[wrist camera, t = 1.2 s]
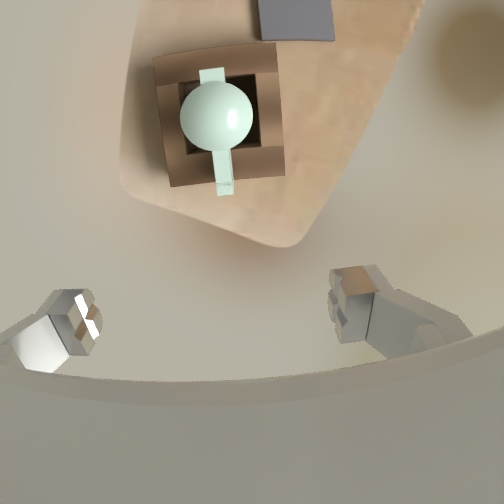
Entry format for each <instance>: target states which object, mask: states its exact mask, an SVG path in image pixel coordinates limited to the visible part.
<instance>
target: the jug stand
mask: <svg viewBox="0 0 504 504" xmlns="http://www.w3.org/2000/svg"><path fill="white" fill-rule="evenodd" d="M153 63H154V73H155V82H156V91H157V99H158V107H159V115H160V122H161V130H162V137H163V143H164V150H165V156H166V163H167V169H168V175H169V181H170V186H171V187H177V186H185V185H193V184H201V183H210V182H216V179H215V171H214V163H213V155H212V151H208V150H204V149H201V148H194V149H192V142H191V141H190V140H189V139H188V138H187V137H186V135H185V134H184V132H183V130H182V127H181V123H180V112H181V108H182V105H183V102H184V101H185V99H186V92H185V85H186V84H192V83H199V82H200V74H199V70H205V69H213V68H221V67H224V72H225V79H231V78H242V77H254V84H255V95H256V107H257V118H258V130H259V142H248V143H239V144H237V145H236V146H234V147H232V148H231V158H232V167H233V176H234V180H238V179H249V178H261V177H273V176H285V160H284V143H283V128H282V113H281V100H280V87H279V75H278V63H277V53H276V43H255V44H242V45H231V46H221V47H213V48H206V49H199V50H192V51H186V52H181V53H175V54H170V55H165V56H160V57H156V58H153Z"/></svg>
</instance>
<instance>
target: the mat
mask: <svg viewBox="0 0 504 504" xmlns="http://www.w3.org/2000/svg"><path fill="white" fill-rule="evenodd" d="M257 1H258V10H259V20H260V30H261V40H262V41H287V40H303V41H331V42H333V41H335V33H334V24H333V15H332V8H331V0H257Z"/></svg>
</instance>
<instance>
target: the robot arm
mask: <svg viewBox="0 0 504 504" xmlns="http://www.w3.org/2000/svg"><path fill="white" fill-rule="evenodd" d="M329 283H330V285H331V288H332V289H331V290H330V291H329V293H328V310H329V314H330V318H331V320H332V321H333V322H334V323H336V325H335V331H336V334H337V336H338V339H339V342H340V344H343V343H351V342H359V341H366V342H367V343H368V344H369V345H371V346H372V347H373V348H375V349H376V350H377V351H379V352H380V353H381V354H382V355H384V356H385V357H386V358H388V359H387V360H383V361H378V362H373V363H367V364H362V365H358V366H352V367H346V368H340V369H334V370H327V371H320V372H314V373H305V374H297V375H289V376H279V377H269V378H257V379H243V380H227V381H226V380H225V381H201V382H200V381H199V382H197V381H196V382H156V381H129V380H112V379H99V378H89V377H79V376H69V375H62V374H55V373H53V372H54V371H55V370H56V369H57V368H58V367H59V366H60V365H61V364H62V363H63V362H64V361H65V360H67V359H68V358H69V357H70V355H75V356H76V355H77V356H89V354H90V352H91V349H92V348H93V346H94V343H95V342H94V338H95V337H97V336H98V335H99V334H100V331H101V329H102V317H101V313H100V311H99V309H98V308H97V307H96V306H95V305H94V304H93V303H94V296H93V294H92V292H91V291H90V290H89V289H59V290H54V291H53V292H52V293H51V294H50V296H49V297H48V298H47V299H46V301H45V302H44V303H43V304H42V306H41V307H40V308H39V309H38V311H37V312H36V313H35V314H31V315H30V316H28V317H27V318H25V319H23V320H22V321H20V322H18V323H17V324H15V325H13V326H12V327H10V328H9V329H7V330H6V331H4V332H2V333H1V334H0V504H504V326H502V327H499V328H496V329H493V330H491V331H488V332H485V333H482V334H479V335H476V336H473V334H472V333H471V332H470V331H469V329H468V328H467V327H466V326H465V324H464V323H463V322H462V320H461V319H460V318H459V317H458V316H457V315H455V314H453V313H451V312H449V311H446V310H444V309H442V308H440V307H438V306H435V305H433V304H431V303H429V302H427V301H424V300H422V299H420V298H418V297H415V296H413V295H411V294H409V293H407V292H404V291H402V290H400V289H394V288H393V287H392V285H391V284H390V283H389V281H388V280H387V279H386V277H385V276H384V275H383V273H382V272H381V271H380V269H379V268H378V267H377V265H375V264H369V265H362V266H355V267H348V268H341V269H333V270H330V274H329Z"/></svg>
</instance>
